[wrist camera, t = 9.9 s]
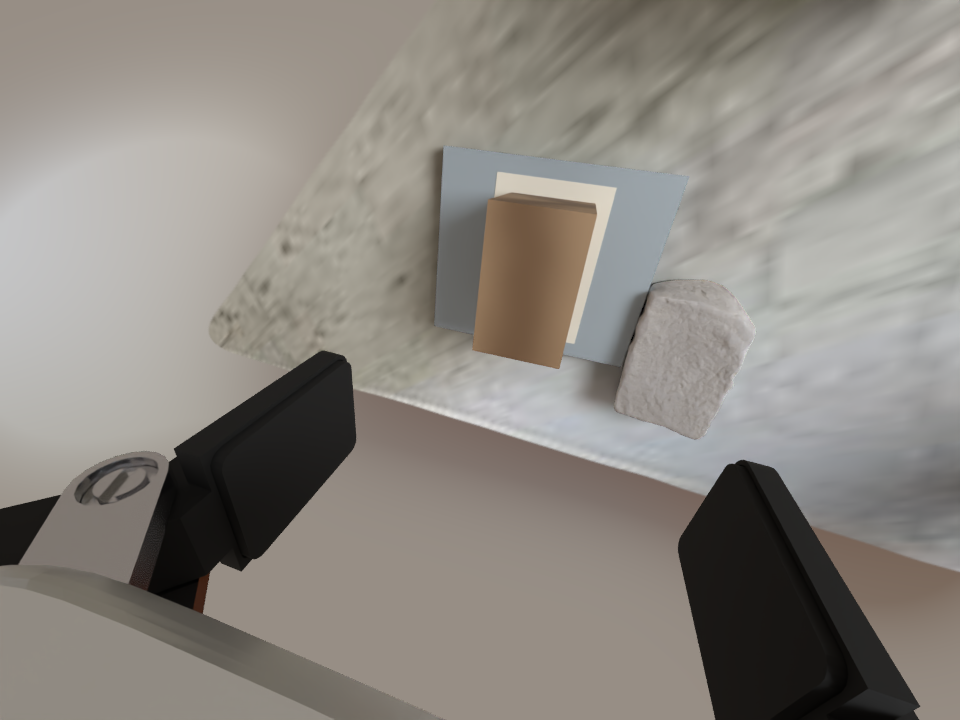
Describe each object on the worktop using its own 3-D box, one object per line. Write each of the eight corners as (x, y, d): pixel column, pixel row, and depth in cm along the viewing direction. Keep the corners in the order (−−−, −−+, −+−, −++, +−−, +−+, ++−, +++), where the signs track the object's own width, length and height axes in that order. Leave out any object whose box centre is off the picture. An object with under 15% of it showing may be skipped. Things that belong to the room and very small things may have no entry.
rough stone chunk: (657, 275, 26) (654, 263, 21) (758, 296, 24) (783, 288, 19) (613, 400, 29) (601, 417, 23) (701, 432, 26) (709, 459, 21)
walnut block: (595, 203, 21) (597, 214, 16) (565, 328, 25) (559, 369, 20) (511, 192, 22) (487, 199, 17) (495, 314, 26) (472, 349, 21)
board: (684, 175, 20) (689, 176, 19) (619, 359, 26) (621, 367, 25) (450, 146, 23) (443, 145, 22) (439, 320, 29) (433, 326, 28)
